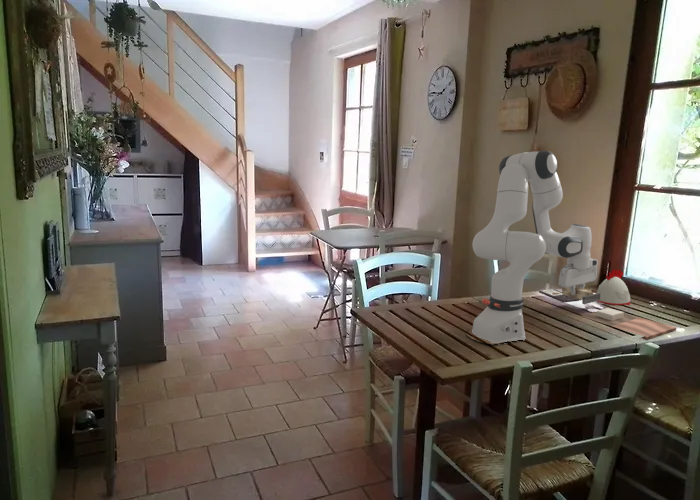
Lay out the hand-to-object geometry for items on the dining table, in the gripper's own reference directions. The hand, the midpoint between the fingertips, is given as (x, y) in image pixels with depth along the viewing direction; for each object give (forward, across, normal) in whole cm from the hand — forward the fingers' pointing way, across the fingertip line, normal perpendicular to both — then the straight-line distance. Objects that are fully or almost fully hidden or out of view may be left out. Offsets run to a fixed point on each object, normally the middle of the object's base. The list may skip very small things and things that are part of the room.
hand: (576, 293), depth 222 cm
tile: (+5, 0, -16) cm, 17 cm away
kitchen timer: (+7, +21, -3) cm, 22 cm away
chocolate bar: (+8, +10, +17) cm, 21 cm away
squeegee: (+2, 0, 0) cm, 2 cm away
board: (+6, -1, -23) cm, 24 cm away
